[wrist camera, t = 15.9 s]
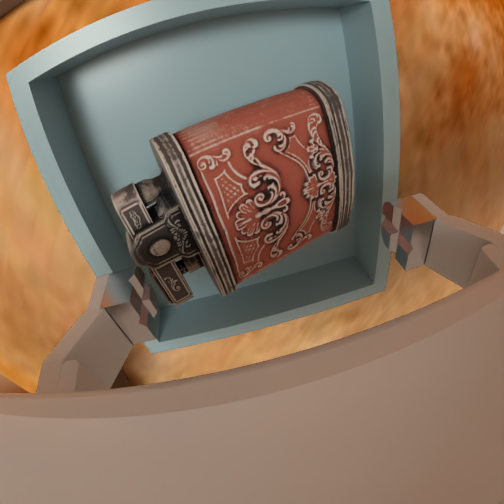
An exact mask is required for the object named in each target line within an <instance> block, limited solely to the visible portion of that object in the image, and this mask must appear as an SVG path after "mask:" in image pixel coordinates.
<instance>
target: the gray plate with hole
mask: <svg viewBox="0 0 504 504" xmlns="http://www.w3.org/2000/svg"><path fill="white" fill-rule="evenodd" d="M23 1H24V0H0V18H1V17H2V16H3V15H5V14H6V13H7V12H9V11H10V10H11V9H13V8H14V7H16V6H17V5H18V4H20V3H21V2H23Z"/></svg>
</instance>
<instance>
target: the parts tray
mask: <svg viewBox="0 0 504 504" xmlns="http://www.w3.org/2000/svg"><path fill="white" fill-rule="evenodd" d="M6 77H7V81H8V85H9V88H10V92H11V95H12V99H13V102H14V105H15V108H16V111H17V114H18V117H19V120H20V123H21V126H22V129H23V131H24V134H25V137H26V139H27V142H28V144H29V147H30V150H31V152H32V154H33V157H34V159H35V162H36V164H37V166H38V169H39V171H40V173H41V175H42V178H43V180H44V182H45V184H46V186H47V188H48V191H49V193H50V195H51V197H52V199H53V201H54V203H55V205H56V207H57V209H58V211H59V213H60V215H61V216H62V218H63V220H64V222H65V224H66V226H67V228H68V230H69V231H70V233H71V235H72V237H73V239H74V240H75V242H76V244H77V245H78V247H79V249H80V251H81V252H82V254H83V256H84V257H85V259H86V261H87V262H88V264H89V266H90V267H91V269H92V270H93V272H94V274H95V275H96V277H97V278H98V277H99V276H102V275H105V274H109V273H113V272H116V271H120V270H124V269H128V268H132V267H136V266H137V265H136V264H135V263H134V261H133V260H132V258H131V256H130V252H129V248H128V244H127V240H126V227H125V225H124V223H123V222H122V220H121V218H120V216H119V215H118V213H117V211H116V209H115V207H114V205H113V202H112V199H111V194H113V193H114V192H116V191H118V190H120V189H122V188H123V187H125V186H127V185H129V184H131V183H133V182H134V184H136V183H138V182H140V181H141V180H144V179H151V178H155V177H157V176H159V175H160V173H161V171H160V169H159V166H158V164H157V161H156V159H155V156H154V154H153V151H152V149H151V146H150V142H149V140H150V139H152V138H154V137H156V136H158V135H160V134H162V133H165V132H167V131H169V132H171V133H172V134H173V133H176V132H178V131H180V130H182V129H185V128H187V127H189V126H192V125H194V124H197V123H199V122H202V121H204V120H206V119H209V118H212V117H214V116H217V115H219V114H222V113H225V112H227V111H230V110H233V109H235V108H238V107H241V106H244V105H247V104H250V103H253V102H256V101H259V100H262V99H265V98H268V97H271V96H274V95H278V94H281V93H284V92H288V91H291V90H293V88H294V87H295V86H297V85H298V84H302V83H306V82H310V81H317V80H320V81H323V82H326V83H327V84H329V85H330V86H331V87H333V88H334V90H335V91H336V92H337V94H338V95H339V97H340V99H341V102H342V104H343V108H344V112H345V116H346V120H347V125H348V129H349V134H350V138H351V146H352V155H353V164H354V199H353V205H352V212H351V218H350V222H349V224H348V225H346V226H345V227H343V228H341V229H340V230H338V231H336V232H334V233H329V232H328V233H326V234H324V235H322V236H321V237H319V238H317V239H316V240H314V241H312V242H310V243H309V244H307V245H305V246H304V247H302V248H300V249H298V250H297V251H295V252H293V253H291V254H290V255H288V256H286V257H285V258H283V259H281V260H279V261H278V262H276V263H274V264H272V265H271V266H269V267H267V268H265V269H264V270H262V271H260V272H258V273H256V274H255V275H253V276H251V277H249V278H248V279H246V280H244V281H242V282H241V283H239V284H237V289H236V290H235V291H233V292H231V293H229V294H227V295H226V296H224V297H223V296H222V295H221V294H220V292H219V291H218V289H217V287H216V286H215V284H214V283H213V281H212V279H211V277H210V276H209V274H208V272H207V270H206V268H205V267H204V266H203V267H201V268H199V269H197V270H196V271H194V272H192V273H189V272H187V273H185V274H183V276H184V278H185V280H186V282H187V283H188V285H189V287H190V289H191V291H192V293H193V295H194V297H193V298H191V299H189V300H187V301H185V302H184V303H182V304H180V305H178V306H176V305H175V304H174V303H173V304H172V305H170V304H169V303H168V302H167V300H166V299H165V297H164V296H163V295H162V293H161V292H160V290H159V289H158V287H157V286H156V284H155V283H154V281H153V280H152V278H151V277H150V274H149V271H148V268H141V267H140V268H141V269H142V271H143V272H144V274H145V281H144V282H146V283H148V284H150V285H151V286H152V288H153V290H154V292H155V295H156V298H157V304H158V312H157V314H156V315H155V317H154V319H155V321H156V322H157V331H156V340H152V341H147V342H143V343H144V344H145V346H146V347H147V348H148V349H149V351H150V352H151V353H152V354H153V353H158V352H163V351H168V350H173V349H178V348H183V347H187V346H192V345H197V344H201V343H205V342H210V341H214V340H218V339H223V338H227V337H231V336H235V335H239V334H243V333H247V332H250V331H254V330H258V329H262V328H266V327H269V326H273V325H277V324H280V323H284V322H287V321H291V320H294V319H298V318H301V317H304V316H308V315H311V314H314V313H317V312H321V311H324V310H327V309H330V308H333V307H337V306H340V305H343V304H346V303H349V302H352V301H355V300H358V299H361V298H364V297H366V296H369V295H372V294H375V293H378V292H381V291H384V290H385V288H386V282H387V277H388V271H389V265H390V258H391V251H390V250H389V249H388V248H387V247H386V246H385V244H384V242H383V239H382V235H381V224H382V222H383V221H384V219H385V216H384V215H383V214H382V209H383V205H384V202H388V201H392V200H396V199H397V198H398V185H399V167H400V93H399V76H398V64H397V53H396V44H395V36H394V29H393V22H392V16H391V10H390V4H389V0H152V1H149V2H146V3H143V4H140V5H137V6H134V7H131V8H129V9H126V10H123V11H121V12H118V13H115V14H113V15H110V16H108V17H106V18H103V19H101V20H99V21H97V22H94V23H92V24H90V25H88V26H86V27H84V28H82V29H79V30H77V31H75V32H73V33H72V34H70V35H68V36H66V37H64V38H62V39H60V40H58V41H57V42H55V43H53V44H51V45H50V46H48V47H46V48H45V49H43V50H41V51H40V52H38V53H36V54H35V55H33V56H32V57H30V58H29V59H27V60H26V61H24V62H23V63H21V64H20V65H18V66H17V67H15V68H14V69H12V70H11V71H10V72H8V73H7V74H6ZM155 203H156V201H155V202H154V203H153V204H155ZM153 204H151V205H149V206H147V207H146V208H149V207H150V206H152V205H153ZM181 259H182V258H181V257H180V258H178V259H176V260H175V262H177V261H179V260H181ZM138 267H139V266H138Z"/></svg>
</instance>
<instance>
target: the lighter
mask: <svg viewBox="0 0 504 504" xmlns="http://www.w3.org/2000/svg"><path fill="white" fill-rule="evenodd" d="M149 142H150V146H151V149H152V151H153V154H154V156H155V159H156V161H157V164H158V166H159V169H160V171H161V173H160V175H159V176H157V177H155V178H151V179H144V180H141V181H140V182H138V183H136V184H134V182H133V183H131V184H129V185H127V186H125V187H123V188H122V189H120V190H118V191H116V192H114V193H113V194H111V199H112V202H113V205H114V207H115V209H116V211H117V213H118V215H119V216H120V218H121V220H122V222H123V223H124V225H125V227H126V240H127V244H128V248H129V252H130V256H131V258H132V260H133V261H134V263H135V264H136V265H137V266H139V267H141V268H148V271H149V274H150V277H151V278H152V280H153V281H154V283H155V284H156V286H157V287H158V289H159V290H160V292H161V293H162V295H163V296H164V297H165V299H166V300H167V302H168V303H169V304H170V305H172V304H173V303H174V304H175V305H176V306H178V305H180V304H182V303H184V302H185V301H187V300H189V299H191V298H193V297H194V295H193V293H192V291H191V289H190V287H189V285H188V283H187V282H186V280H185V278H184V276H183V274H185V273H187V272H189V273H192V272H194V271H196V270H197V269H199V268H201V267H203V266H204V267H205V268H206V270H207V272H208V274H209V276H210V277H211V279H212V281H213V283H214V284H215V286H216V287H217V289H218V291H219V292H220V294H221V295H222V296H223V297H224V296H226V295H227V294H229V293H231V292H233V291H235V290H236V289H237V284H239V283H241V282H242V281H244V280H246V279H248V278H249V277H251V276H253V275H255V274H256V273H258V272H260V271H262V270H264V269H265V268H267V267H269V266H271V265H272V264H274V263H276V262H278V261H279V260H281V259H283V258H285V257H286V256H288V255H290V254H291V253H293V252H295V251H297V250H298V249H300V248H302V247H304V246H305V245H307V244H309V243H310V242H312V241H314V240H316V239H317V238H319V237H321V236H322V235H324V234H326V233H328V232H329V233H334V232H336V231H338V230H340V229H341V228H343V227H345V226H346V225H348V224H349V222H350V218H351V212H352V205H353V199H354V164H353V155H352V146H351V138H350V134H349V129H348V125H347V120H346V116H345V112H344V108H343V104H342V102H341V99H340V97H339V95H338V94H337V92H336V91H335V90H334V88H333V87H331V86H330V85H329V84H327V83H326V82H323V81H320V80H317V81H310V82H306V83H302V84H298V85H297V86H295V87H294V88H293V90H291V91H288V92H284V93H281V94H278V95H274V96H271V97H268V98H265V99H262V100H259V101H256V102H253V103H250V104H247V105H244V106H241V107H238V108H235V109H233V110H230V111H227V112H225V113H222V114H219V115H217V116H214V117H212V118H209V119H206V120H204V121H202V122H199V123H197V124H194V125H192V126H189V127H187V128H185V129H182V130H180V131H178V132H176V133H173V134H172V133H171V132H169V131H167V132H165V133H162V134H160V135H158V136H156V137H154V138H152V139H150V140H149ZM155 201H156V203H155V204H153V203H154V202H155ZM151 204H153V205H152V206H150V207H149V208H146V207H147V206H149V205H151ZM180 257H181V258H182V259H181V260H179V261H177V262H175V260H176V259H178V258H180Z"/></svg>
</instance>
